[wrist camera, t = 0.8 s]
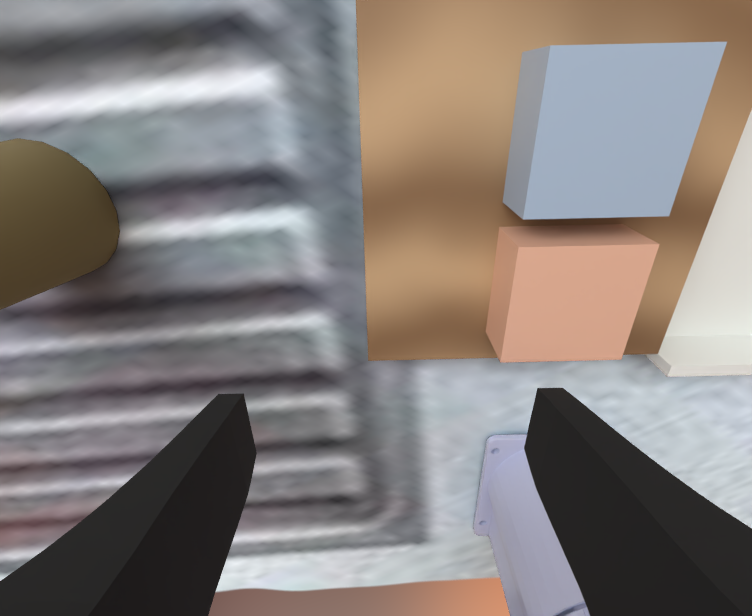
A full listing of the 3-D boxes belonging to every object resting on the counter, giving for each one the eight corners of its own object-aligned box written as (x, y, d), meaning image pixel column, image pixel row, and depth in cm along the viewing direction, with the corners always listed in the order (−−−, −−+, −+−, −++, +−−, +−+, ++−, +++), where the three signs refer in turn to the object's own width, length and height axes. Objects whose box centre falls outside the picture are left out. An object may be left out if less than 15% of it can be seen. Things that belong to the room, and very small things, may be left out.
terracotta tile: (593, 329, 19) (621, 359, 17) (485, 331, 19) (500, 362, 17) (622, 224, 16) (659, 244, 14) (499, 226, 16) (518, 247, 14)
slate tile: (629, 199, 16) (668, 216, 14) (502, 202, 16) (522, 219, 14) (671, 48, 14) (727, 41, 11) (522, 52, 13) (550, 45, 11)
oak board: (634, 331, 21) (658, 353, 19) (368, 338, 21) (368, 360, 19) (745, 2, 15) (797, -10, 13) (357, 10, 15) (355, -1, 13)
